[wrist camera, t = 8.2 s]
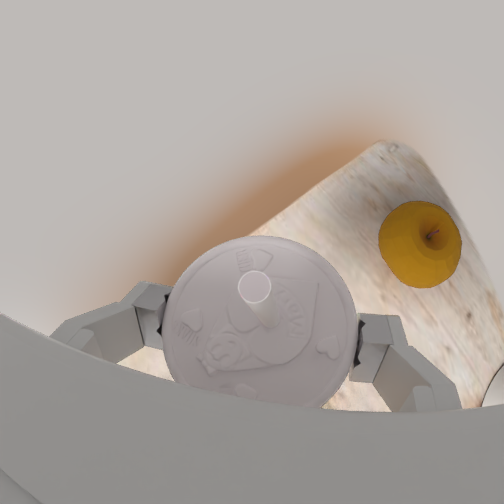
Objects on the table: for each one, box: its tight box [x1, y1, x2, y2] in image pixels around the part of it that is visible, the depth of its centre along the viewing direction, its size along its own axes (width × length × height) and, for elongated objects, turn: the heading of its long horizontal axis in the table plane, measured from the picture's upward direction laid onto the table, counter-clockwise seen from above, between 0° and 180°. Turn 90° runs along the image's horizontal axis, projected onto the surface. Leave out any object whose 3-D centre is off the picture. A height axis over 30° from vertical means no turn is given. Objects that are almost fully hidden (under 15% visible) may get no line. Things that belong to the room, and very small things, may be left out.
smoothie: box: [162, 236, 358, 408], centre depth 11 cm, size 6×6×14 cm
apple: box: [379, 201, 462, 288], centre depth 27 cm, size 9×9×9 cm
